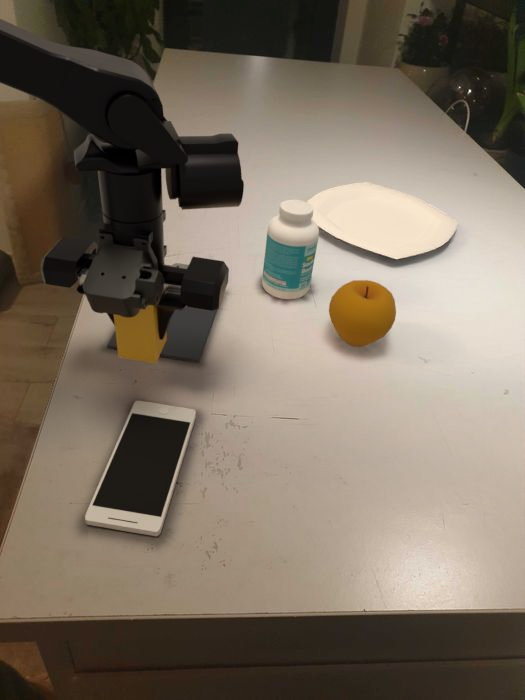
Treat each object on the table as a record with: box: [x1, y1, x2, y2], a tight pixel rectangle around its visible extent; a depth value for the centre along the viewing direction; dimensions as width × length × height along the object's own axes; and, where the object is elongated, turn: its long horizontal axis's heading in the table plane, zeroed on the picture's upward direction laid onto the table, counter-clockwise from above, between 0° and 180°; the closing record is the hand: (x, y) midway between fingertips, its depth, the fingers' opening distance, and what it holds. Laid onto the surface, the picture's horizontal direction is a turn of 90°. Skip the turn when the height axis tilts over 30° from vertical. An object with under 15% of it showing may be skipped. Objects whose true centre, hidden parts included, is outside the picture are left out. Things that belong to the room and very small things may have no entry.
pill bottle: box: [261, 199, 320, 300], centre depth 77 cm, size 8×7×14 cm
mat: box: [106, 306, 218, 364], centre depth 73 cm, size 12×16×1 cm
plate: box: [306, 181, 459, 261], centre depth 100 cm, size 27×27×2 cm
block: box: [113, 289, 167, 365], centre depth 60 cm, size 4×4×9 cm
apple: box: [328, 279, 397, 348], centre depth 71 cm, size 9×9×9 cm
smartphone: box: [84, 400, 197, 537], centre depth 54 cm, size 7×16×1 cm, turn 173°
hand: (141, 334), depth 61 cm, fingers closed on block, 4 cm apart
